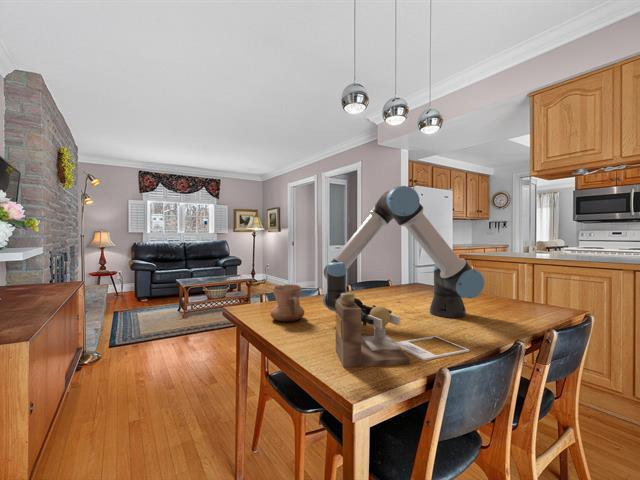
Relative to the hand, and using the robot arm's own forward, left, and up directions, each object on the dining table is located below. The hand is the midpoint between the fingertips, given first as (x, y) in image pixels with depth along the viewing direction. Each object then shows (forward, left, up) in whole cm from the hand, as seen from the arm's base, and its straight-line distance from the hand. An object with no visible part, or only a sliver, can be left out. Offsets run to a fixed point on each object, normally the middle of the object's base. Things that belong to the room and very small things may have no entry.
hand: (390, 322), depth 96 cm
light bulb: (+2, -5, -6) cm, 8 cm away
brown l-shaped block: (+7, -3, -9) cm, 12 cm away
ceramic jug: (+30, -42, -10) cm, 52 cm away
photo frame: (-14, -3, -10) cm, 18 cm away
